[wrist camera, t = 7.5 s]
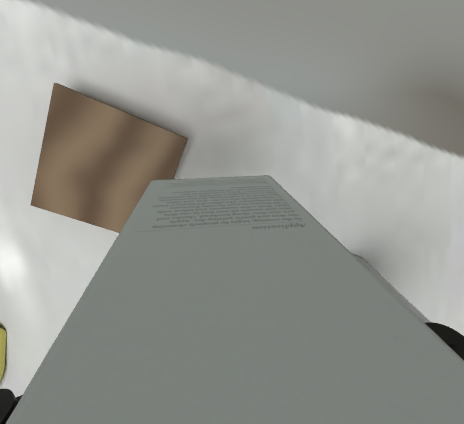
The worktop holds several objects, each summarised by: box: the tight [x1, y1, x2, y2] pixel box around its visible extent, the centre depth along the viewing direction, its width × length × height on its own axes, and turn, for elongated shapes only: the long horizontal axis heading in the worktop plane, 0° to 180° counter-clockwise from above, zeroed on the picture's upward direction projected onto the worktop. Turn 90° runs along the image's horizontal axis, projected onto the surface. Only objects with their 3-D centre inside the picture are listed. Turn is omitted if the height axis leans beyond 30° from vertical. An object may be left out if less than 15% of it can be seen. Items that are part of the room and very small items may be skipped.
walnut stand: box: [31, 83, 187, 233], centre depth 32 cm, size 14×14×5 cm
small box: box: [6, 175, 464, 424], centre depth 9 cm, size 8×6×13 cm
